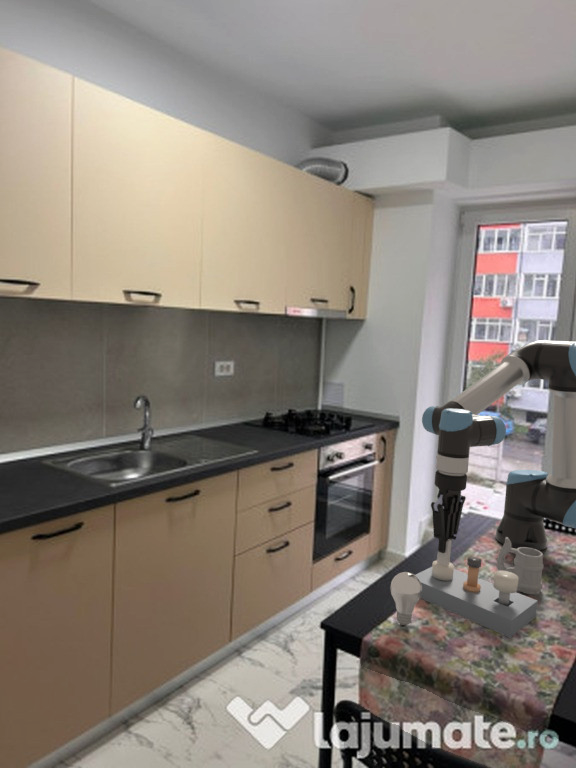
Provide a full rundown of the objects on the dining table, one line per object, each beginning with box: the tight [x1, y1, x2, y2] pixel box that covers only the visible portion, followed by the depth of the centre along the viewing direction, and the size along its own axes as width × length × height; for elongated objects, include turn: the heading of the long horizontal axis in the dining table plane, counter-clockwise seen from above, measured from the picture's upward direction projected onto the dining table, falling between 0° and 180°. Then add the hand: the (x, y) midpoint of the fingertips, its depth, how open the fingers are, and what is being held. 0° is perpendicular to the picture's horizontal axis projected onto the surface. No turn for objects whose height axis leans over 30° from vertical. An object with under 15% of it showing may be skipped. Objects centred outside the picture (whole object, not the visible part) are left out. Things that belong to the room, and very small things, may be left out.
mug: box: [496, 537, 544, 595], centre depth 149 cm, size 8×12×12 cm, turn 53°
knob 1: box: [431, 559, 455, 581], centre depth 143 cm, size 5×5×7 cm
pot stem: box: [463, 556, 482, 593], centre depth 137 cm, size 4×4×7 cm
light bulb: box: [389, 571, 422, 627], centre depth 126 cm, size 7×7×12 cm
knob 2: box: [493, 570, 518, 607], centre depth 131 cm, size 5×5×7 cm
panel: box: [414, 566, 539, 638], centre depth 137 cm, size 14×26×4 cm, turn 45°
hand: (443, 563), depth 142 cm, fingers closed
